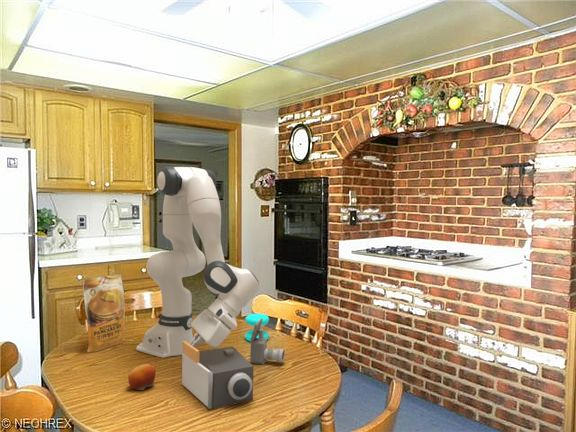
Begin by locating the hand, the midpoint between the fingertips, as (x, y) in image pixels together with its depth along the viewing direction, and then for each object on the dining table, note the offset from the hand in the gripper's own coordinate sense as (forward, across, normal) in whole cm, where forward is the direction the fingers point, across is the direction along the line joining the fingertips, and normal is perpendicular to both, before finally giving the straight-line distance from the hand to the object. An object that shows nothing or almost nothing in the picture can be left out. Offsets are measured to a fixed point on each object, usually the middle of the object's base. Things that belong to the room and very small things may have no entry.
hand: (190, 348), depth 124 cm
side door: (+8, +7, +8) cm, 14 cm away
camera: (-12, -7, +30) cm, 33 cm away
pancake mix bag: (+24, -49, -6) cm, 55 cm away
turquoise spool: (-17, -32, +35) cm, 50 cm away
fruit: (+18, -7, -1) cm, 20 cm away
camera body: (+3, +8, +15) cm, 17 cm away
